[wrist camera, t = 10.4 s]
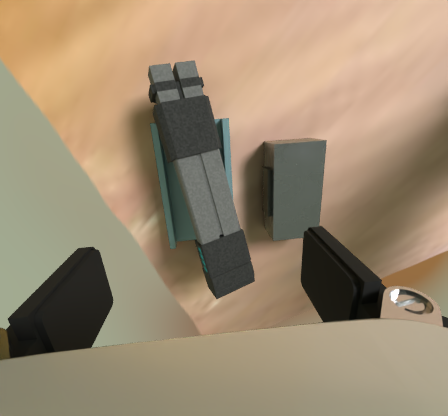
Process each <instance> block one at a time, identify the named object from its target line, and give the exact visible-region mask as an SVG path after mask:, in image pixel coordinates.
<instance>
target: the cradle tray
mask: <svg viewBox="0 0 448 416" xmlns="http://www.w3.org/2000/svg"><path fill="white" fill-rule="evenodd" d="M214 120H215V124H216V128H217V131H218V135H219V139H220V143H221V147H222V148H221V149H219V150H220V154H221V158H222V161H223V165H224V169H225V173H226V177H227V180H228V184H229V188H230V192H231V195H232V199H233V191H232V172H231V153H230V133H229V118H226V119H214ZM150 126H151V132H152V139H153V145H154V151H155V157H156V163H157V169H158V176H159V182H160V188H161V194H162V200H163V206H164V213H165V219H166V225H167V231H168V237H169V243H170V249H175V248H176V245H177V241H187V240H196V236H195V232H194V229H193V226H192V223H191V219H190V216H189V213H188V210H187V206H186V203H185V200H184V197H183V193H182V190H181V187H180V183H179V180H178V177H177V174H176V170H175V167H174V164H173V162H171V163H168V161H167V158H166V155H165V152H164V149H163V145H162V142H161V139H160V136H159V132H158V129H157V126H156V123H150Z"/></svg>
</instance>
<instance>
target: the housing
mask: <svg viewBox="0 0 448 416" xmlns="http://www.w3.org/2000/svg"><path fill="white" fill-rule="evenodd" d="M326 141H327V140H320V139H313V138H305V139H291V140H278V141H264V166H263V211H264V213H265V229H266V230H267V232H268V233H269V235H270V237H271V238H272V240H273V241H276V240H286V239H295V238H304V231H307V230H308V228H309V227H318V226H319V222H320V211H321V199H322V187H323V176H324V164H325V152H326Z"/></svg>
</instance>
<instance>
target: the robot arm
mask: <svg viewBox="0 0 448 416" xmlns="http://www.w3.org/2000/svg"><path fill="white" fill-rule="evenodd" d="M381 281H382V280H381V279H380V278H379V277H378V276H376V275H375V274H374V273H373V272H372V271H371V270H370V269H369V268H368V267H366V266H365V265H364V264H363V263H362V262H361V261H360V260H359V259H358V258H356V257H355V256H354V255H353V254H352V253H351V252H350V251H349V250H348V249H347V248H345V247H344V246H343V245H342V244H341V243H340V242H339V241H338V240H337V239H335V238H334V237H333V236H332V235H331V234H330V233H329V232H328V231H327V230H325V229H324V228H323V227H322V226H318V227H309V228H308V230H307V231H304V238H303V253H302V269H301V283H302V286H303V288H304V290H305V292H306V293H307V295H308V297H309V298H310V300H311V302H312V304H313V305H314V307H315V309H316V310H317V312H318V314H319V316H320V317H321V319H322V320H323V322H322V323H313V324H303V325H294V326H284V327H275V328H265V329H256V330H247V331H238V332H229V333H220V334H211V335H201V336H192V337H183V338H175V339H166V340H157V341H148V342H139V343H130V344H121V345H112V346H103V347H95V348H91V347H92V345H93V343H94V341H95V339H96V337H97V335H98V333H99V331H100V329H101V327H102V325H103V323H104V321H105V319H106V317H107V315H108V313H109V311H110V309H111V307H112V305H113V297H112V293H111V290H110V286H109V283H108V279H107V276H106V272H105V269H104V265H103V262H102V258H101V255H100V252H99V250H96V249H95V248H94V247H86V248H78V249H77V250H76V251H75V252H74V253H73V254H72V255H71V256H70V257H69V258H68V259H67V260H66V261H65V262H64V263H63V264H62V265H61V266H60V267H59V268H58V269H57V270H56V271H55V272H54V273H53V274H52V275H51V276H50V277H49V278H48V279H47V280H46V281H45V282H44V283H43V284H42V285H41V286H40V287H39V288H38V289H37V290H36V291H35V292H34V293H33V294H32V295H31V296H30V297H29V298H28V299H27V300H26V301H25V302H24V303H23V304H22V305H21V306H20V307H19V308H18V309H17V310H16V311H15V312H14V313H13V314H12V315H11V316H10V317H9V318H8V321H9V323H10V326H9V327H8V328H7V329H6V330H5V329H3V328H0V416H448V318H446V317H444V316H441V310H440V308H439V306H438V304H437V303H436V302H435V301H434V300H433V299H432V298H430V297H429V296H427V295H425V294H424V293H421V292H419V291H417V290H414V289H412V288H408V287H403V286H393V287H388V288H386V287H385V286H384V285H383V284H382V283H381Z"/></svg>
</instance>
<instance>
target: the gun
mask: <svg viewBox="0 0 448 416" xmlns="http://www.w3.org/2000/svg"><path fill="white" fill-rule="evenodd" d="M148 77H149V80H150V83H151V85H150V88H149V98H150V101H151V103H152V102H154V103H157V105H154V109H153V116H154V120H155V123H156V126H157V129H158V132H159V136H160V139H161V142H162V145H163V149H164V152H165V155H166V158H167V161H168V163H171V162H173V164H174V167H175V170H176V174H177V177H178V180H179V183H180V187H181V190H182V193H183V197H184V200H185V203H186V206H187V210H188V213H189V216H190V219H191V223H192V226H193V229H194V232H195V236H196V240H195V243H196V246H197V249H198V253H199V256H200V259H201V262H202V266H203V271H204V274H205V278H206V281H207V284H208V287H209V289H210V290H211V292H212V293H213V294H214V296H215V297H216V299H218V298H220V297H222V296H225V295H227V294H229V293H231V292H233V291H235V290H237V289H239V288H241V287H243V286H246V285H248V284H250V283H252V282H254V281H255V279H254V270H253V266H252V263H251V261H250V260H251V258H250V254H249V250H248V247H247V243H246V239H245V235H244V232H243V230H242V229H240V225H239V222H238V218H237V214H236V210H235V207H234V203H233V199H232V195H231V192H230V188H229V184H228V180H227V177H226V173H225V169H224V165H223V161H222V158H221V154H220V150H219V149H221V148H222V147H221V143H220V139H219V135H218V131H217V128H216V124H215V120H214V116H213V112H212V109H211V105H210V101H209V97H208V96H205V95H204V94H203V90H202V88H203V86H204V84H203V80H202V77H200V78H199V75H198V72H197V68H196V64H195V61H186V62H178V63H175V65H174V68H173V71H172V69H171V65H170V63H169V64H161V65H153V66H149V72H148Z"/></svg>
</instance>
